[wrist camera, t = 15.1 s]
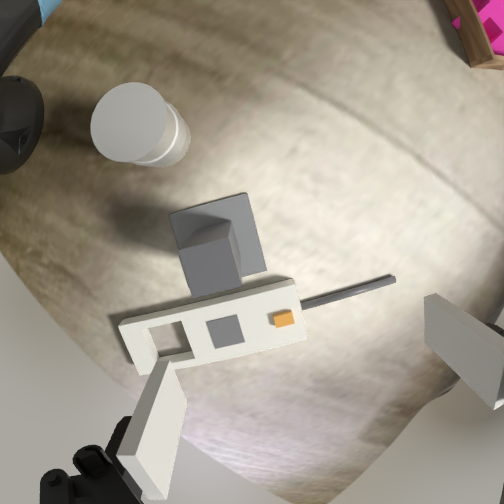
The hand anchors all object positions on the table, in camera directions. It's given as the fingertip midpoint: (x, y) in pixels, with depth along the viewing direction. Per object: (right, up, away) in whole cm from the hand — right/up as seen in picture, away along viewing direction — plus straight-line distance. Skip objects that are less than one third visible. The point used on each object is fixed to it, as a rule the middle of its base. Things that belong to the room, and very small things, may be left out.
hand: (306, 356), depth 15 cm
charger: (-7, +6, +25) cm, 27 cm away
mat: (-7, +6, +26) cm, 27 cm away
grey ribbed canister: (-13, +19, +23) cm, 32 cm away
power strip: (-1, -3, +28) cm, 28 cm away
